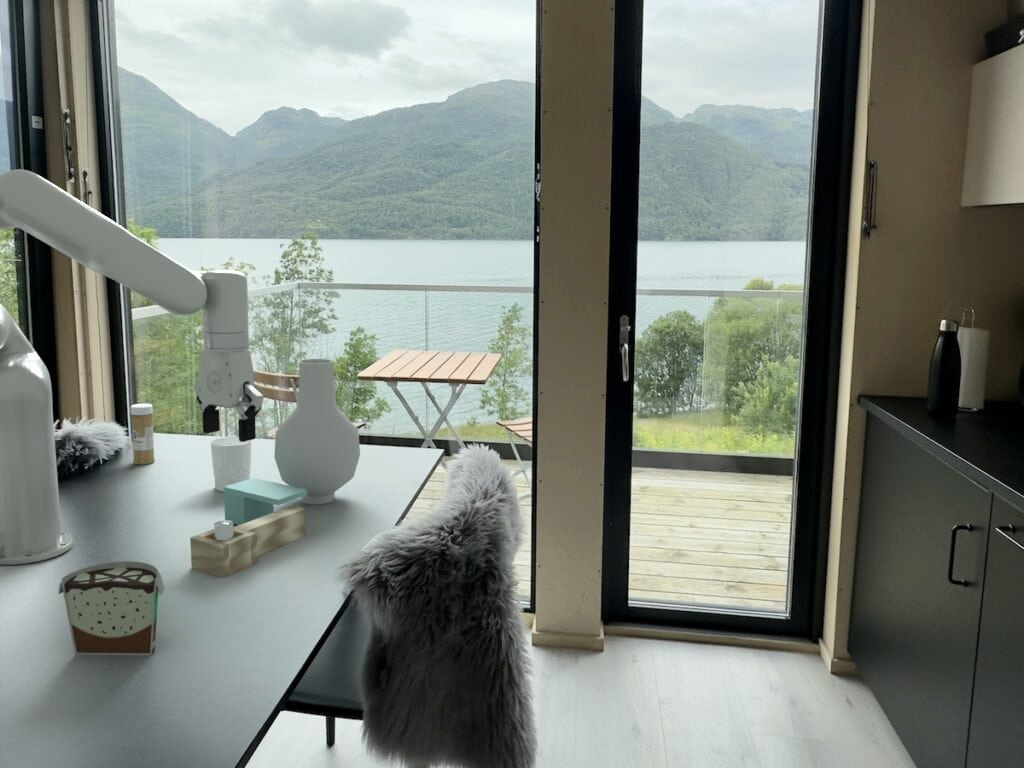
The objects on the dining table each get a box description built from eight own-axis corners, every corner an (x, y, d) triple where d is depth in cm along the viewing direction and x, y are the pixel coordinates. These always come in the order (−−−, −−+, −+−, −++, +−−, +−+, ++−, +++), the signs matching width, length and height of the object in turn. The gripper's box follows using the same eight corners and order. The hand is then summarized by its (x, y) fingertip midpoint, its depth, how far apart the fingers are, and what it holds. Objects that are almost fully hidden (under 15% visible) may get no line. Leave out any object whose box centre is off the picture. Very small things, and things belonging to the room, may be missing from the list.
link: (222, 577, 123) (221, 546, 122) (191, 567, 126) (190, 537, 125) (314, 538, 140) (313, 510, 139) (284, 530, 143) (283, 503, 142)
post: (224, 570, 125) (222, 527, 124) (212, 566, 127) (210, 524, 126) (238, 564, 128) (237, 522, 127) (226, 560, 129) (224, 519, 128)
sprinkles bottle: (128, 463, 182) (125, 405, 180) (144, 458, 187) (141, 402, 184) (144, 466, 181) (141, 407, 179) (159, 461, 185) (156, 404, 183)
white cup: (258, 483, 171) (257, 437, 169) (242, 494, 163) (241, 446, 161) (223, 481, 171) (221, 435, 170) (205, 492, 164) (203, 444, 162)
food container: (182, 631, 106) (179, 559, 104) (163, 655, 100) (159, 579, 98) (87, 631, 105) (82, 558, 104) (62, 654, 99) (57, 578, 97)
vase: (374, 491, 167) (373, 358, 162) (336, 516, 151) (334, 369, 146) (302, 483, 171) (299, 353, 166) (258, 507, 155) (254, 364, 151)
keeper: (279, 535, 140) (278, 499, 139) (225, 521, 146) (223, 486, 145) (307, 524, 146) (307, 489, 145) (254, 510, 152) (253, 477, 151)
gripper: (176, 338, 143) (180, 432, 146) (241, 347, 134) (244, 447, 137) (212, 335, 149) (215, 425, 152) (276, 344, 140) (278, 439, 143)
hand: (229, 436), depth 144 cm, fingers open, 9 cm apart
